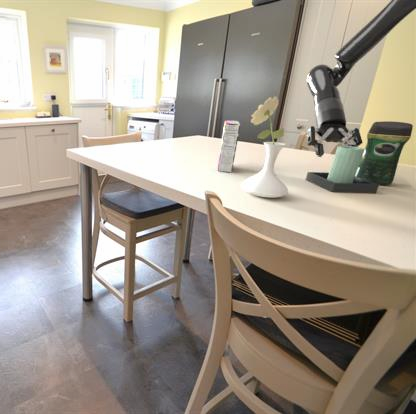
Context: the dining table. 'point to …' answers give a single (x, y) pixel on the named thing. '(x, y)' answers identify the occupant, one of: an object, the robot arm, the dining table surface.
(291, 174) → the dining table surface
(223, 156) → the candy bar box
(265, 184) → the flower in vase
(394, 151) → the coffee jar
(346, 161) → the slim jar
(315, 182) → the dark square tray
